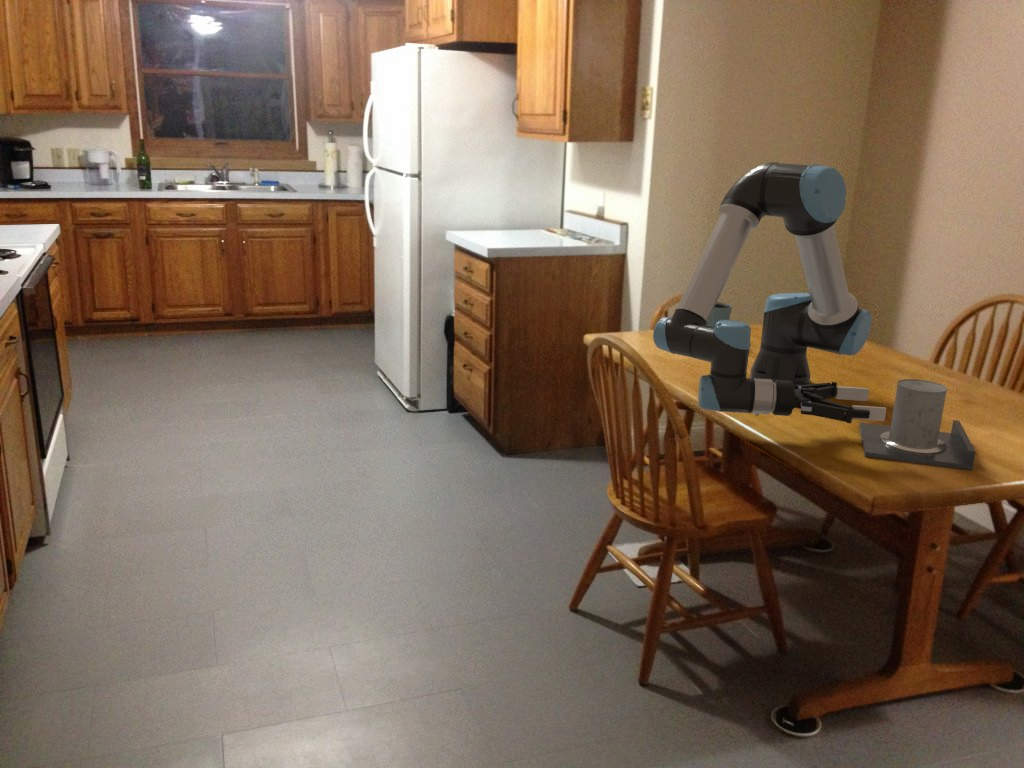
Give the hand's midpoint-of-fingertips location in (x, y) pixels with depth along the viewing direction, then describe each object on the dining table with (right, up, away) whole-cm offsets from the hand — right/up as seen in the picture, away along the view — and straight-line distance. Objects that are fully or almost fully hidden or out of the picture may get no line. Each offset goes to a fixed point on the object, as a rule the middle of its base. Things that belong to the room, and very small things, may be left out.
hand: (876, 404), depth 187 cm
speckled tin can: (+8, -8, +1) cm, 12 cm away
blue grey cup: (-15, +17, +86) cm, 89 cm away
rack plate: (+8, -9, +2) cm, 12 cm away
